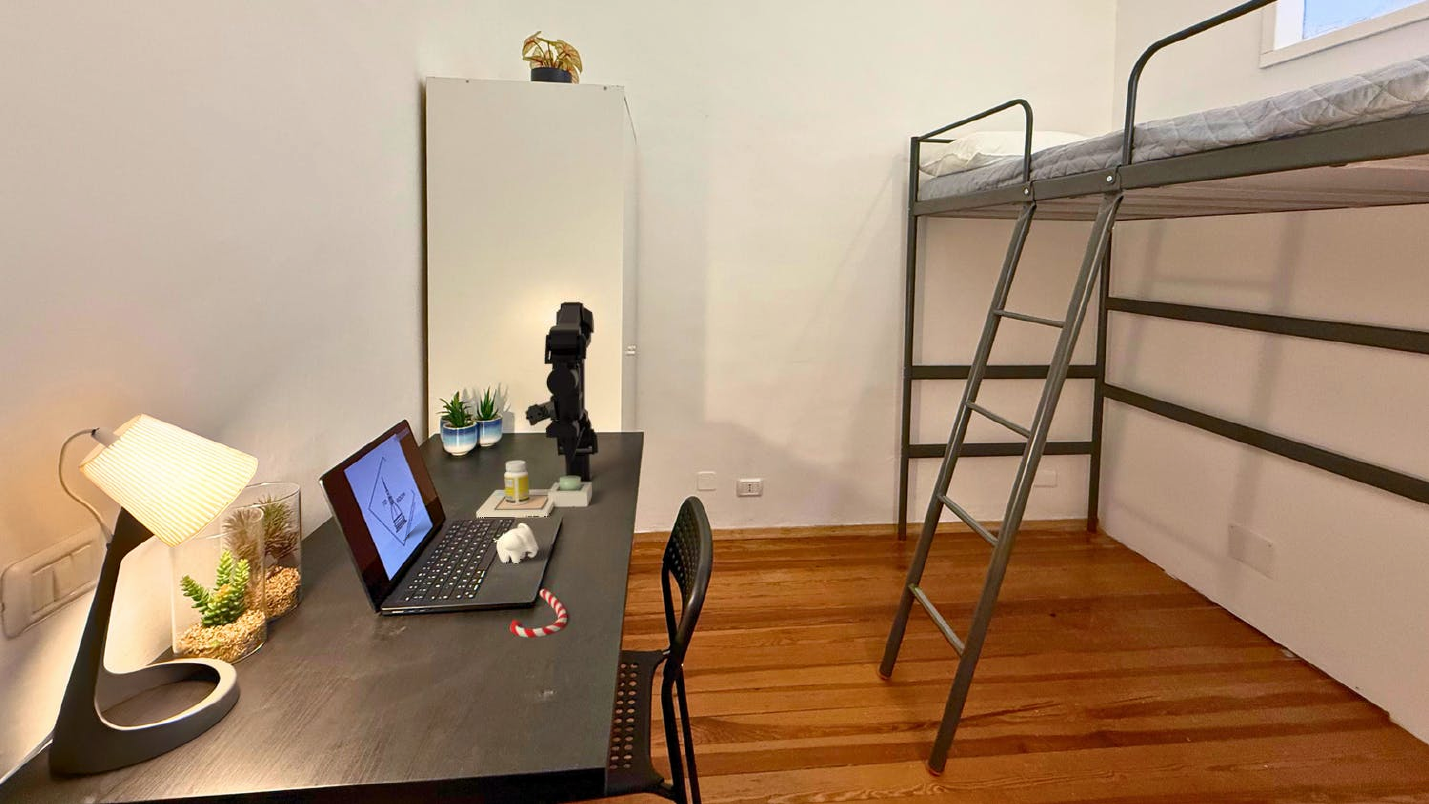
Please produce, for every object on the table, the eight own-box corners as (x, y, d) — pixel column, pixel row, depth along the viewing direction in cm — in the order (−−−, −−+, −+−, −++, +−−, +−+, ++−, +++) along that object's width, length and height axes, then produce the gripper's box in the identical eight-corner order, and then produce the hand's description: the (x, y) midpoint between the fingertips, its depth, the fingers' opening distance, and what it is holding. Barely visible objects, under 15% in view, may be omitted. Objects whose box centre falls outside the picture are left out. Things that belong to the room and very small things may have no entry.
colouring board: (496, 495, 178) (495, 489, 178) (560, 494, 178) (560, 488, 178) (476, 517, 162) (476, 511, 162) (547, 517, 162) (547, 510, 162)
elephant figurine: (530, 569, 135) (529, 535, 134) (485, 566, 136) (483, 532, 135) (546, 555, 141) (544, 522, 140) (502, 552, 143) (501, 519, 142)
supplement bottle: (530, 498, 171) (528, 459, 169) (528, 504, 166) (527, 464, 165) (506, 499, 170) (504, 460, 168) (504, 506, 165) (502, 465, 164)
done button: (561, 486, 175) (561, 475, 175) (582, 486, 175) (581, 475, 175) (558, 492, 171) (557, 481, 170) (579, 491, 171) (578, 480, 170)
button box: (555, 495, 177) (554, 482, 177) (592, 495, 177) (591, 482, 177) (548, 506, 169) (548, 492, 169) (587, 506, 169) (586, 492, 169)
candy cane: (565, 586, 126) (567, 628, 111) (565, 594, 126) (568, 637, 111) (513, 590, 124) (508, 633, 110) (513, 598, 124) (509, 642, 110)
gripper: (536, 382, 178) (539, 452, 181) (518, 397, 160) (521, 474, 163) (587, 382, 178) (589, 452, 181) (575, 396, 160) (577, 473, 163)
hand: (569, 462), depth 172 cm, fingers closed
